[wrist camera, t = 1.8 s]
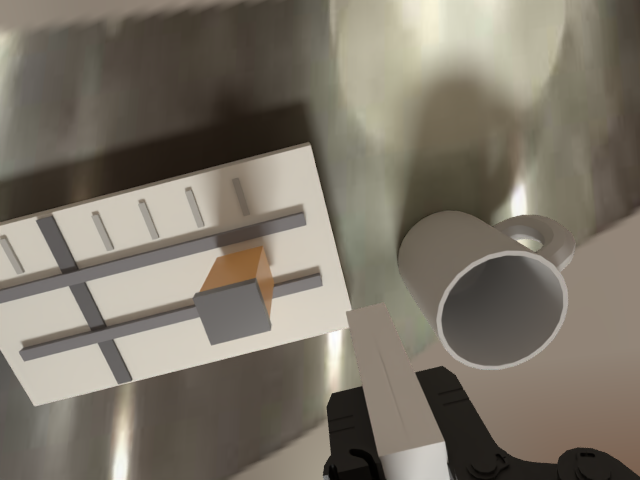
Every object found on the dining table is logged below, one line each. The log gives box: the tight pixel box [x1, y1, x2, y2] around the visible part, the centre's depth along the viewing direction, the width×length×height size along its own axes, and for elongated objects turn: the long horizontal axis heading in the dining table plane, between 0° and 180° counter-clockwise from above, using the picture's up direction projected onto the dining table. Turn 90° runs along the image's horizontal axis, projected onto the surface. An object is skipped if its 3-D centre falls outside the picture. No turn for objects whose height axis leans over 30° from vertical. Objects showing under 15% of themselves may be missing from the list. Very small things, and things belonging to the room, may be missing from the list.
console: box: [0, 142, 352, 406], centre depth 27 cm, size 24×13×3 cm, turn 104°
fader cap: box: [192, 246, 274, 346], centre depth 23 cm, size 3×3×6 cm
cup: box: [398, 210, 575, 370], centre depth 25 cm, size 7×10×9 cm
